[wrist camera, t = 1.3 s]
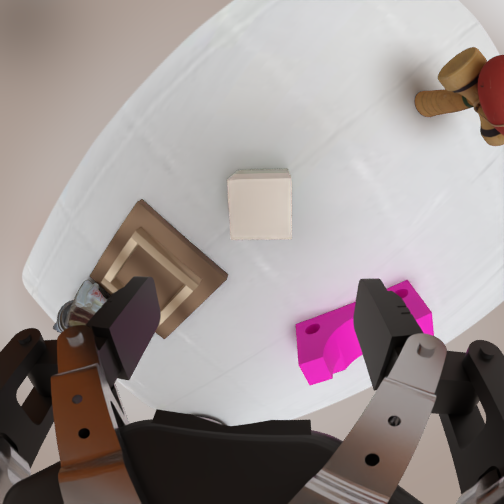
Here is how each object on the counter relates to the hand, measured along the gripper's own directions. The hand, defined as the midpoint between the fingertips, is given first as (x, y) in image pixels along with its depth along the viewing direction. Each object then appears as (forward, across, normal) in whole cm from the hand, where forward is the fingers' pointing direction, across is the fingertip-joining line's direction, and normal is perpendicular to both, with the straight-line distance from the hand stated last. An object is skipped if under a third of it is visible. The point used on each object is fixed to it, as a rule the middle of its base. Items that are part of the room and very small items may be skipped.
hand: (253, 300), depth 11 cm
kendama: (+20, -17, -11) cm, 29 cm away
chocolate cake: (+22, +19, +17) cm, 33 cm away
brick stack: (+20, 0, 0) cm, 20 cm away
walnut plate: (+20, +14, +9) cm, 26 cm away
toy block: (+20, -12, +16) cm, 28 cm away
